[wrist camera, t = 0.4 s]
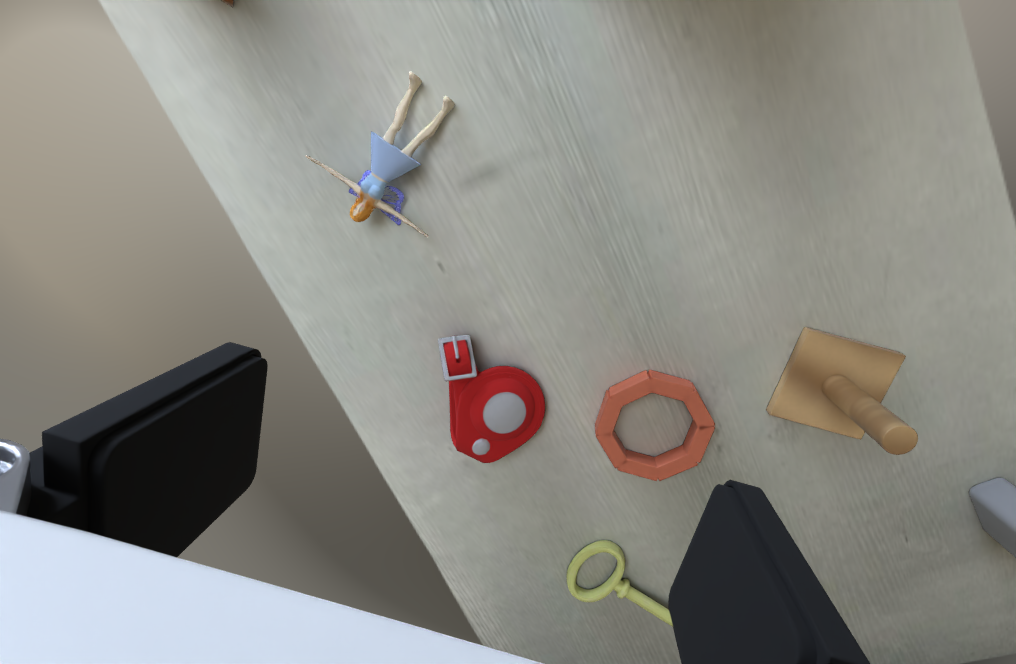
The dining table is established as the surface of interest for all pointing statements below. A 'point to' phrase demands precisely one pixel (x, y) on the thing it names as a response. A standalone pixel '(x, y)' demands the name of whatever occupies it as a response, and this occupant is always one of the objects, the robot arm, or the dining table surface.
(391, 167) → the fairy figurine
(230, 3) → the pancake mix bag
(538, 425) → the tracker holder
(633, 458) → the ring
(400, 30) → the dining table surface
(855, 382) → the peg stand
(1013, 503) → the power adapter
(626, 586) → the key
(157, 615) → the robot arm
